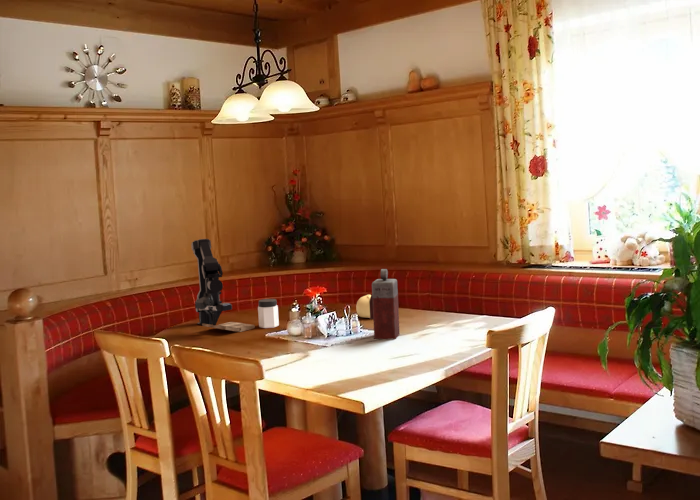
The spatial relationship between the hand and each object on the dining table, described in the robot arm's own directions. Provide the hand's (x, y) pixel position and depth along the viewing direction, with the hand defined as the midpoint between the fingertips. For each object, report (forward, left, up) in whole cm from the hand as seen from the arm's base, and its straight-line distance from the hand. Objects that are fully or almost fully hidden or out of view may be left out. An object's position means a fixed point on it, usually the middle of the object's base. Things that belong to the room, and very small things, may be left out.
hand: (214, 325), depth 340 cm
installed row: (0, +12, -4) cm, 13 cm away
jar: (+11, +22, -4) cm, 25 cm away
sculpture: (+40, +59, -4) cm, 72 cm away
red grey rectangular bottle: (+71, +30, -4) cm, 77 cm away
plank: (0, +3, -2) cm, 4 cm away
